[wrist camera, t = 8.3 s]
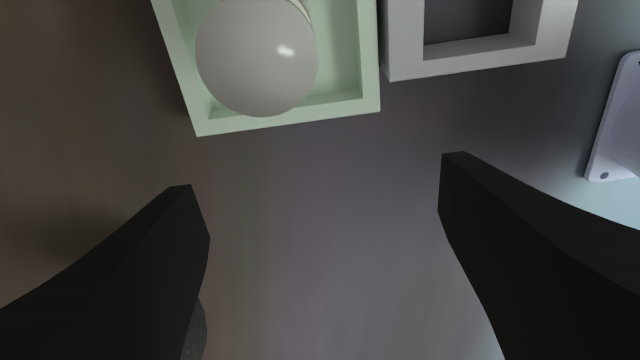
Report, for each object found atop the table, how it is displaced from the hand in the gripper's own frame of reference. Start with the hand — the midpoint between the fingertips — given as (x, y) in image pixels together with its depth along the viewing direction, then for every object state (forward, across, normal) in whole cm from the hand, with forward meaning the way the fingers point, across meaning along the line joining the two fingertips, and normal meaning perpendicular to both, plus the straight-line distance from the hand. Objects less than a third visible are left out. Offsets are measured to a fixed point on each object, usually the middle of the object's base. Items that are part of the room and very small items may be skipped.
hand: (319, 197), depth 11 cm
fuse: (+10, +1, -3) cm, 10 cm away
